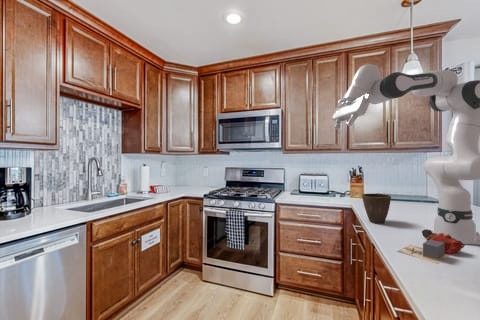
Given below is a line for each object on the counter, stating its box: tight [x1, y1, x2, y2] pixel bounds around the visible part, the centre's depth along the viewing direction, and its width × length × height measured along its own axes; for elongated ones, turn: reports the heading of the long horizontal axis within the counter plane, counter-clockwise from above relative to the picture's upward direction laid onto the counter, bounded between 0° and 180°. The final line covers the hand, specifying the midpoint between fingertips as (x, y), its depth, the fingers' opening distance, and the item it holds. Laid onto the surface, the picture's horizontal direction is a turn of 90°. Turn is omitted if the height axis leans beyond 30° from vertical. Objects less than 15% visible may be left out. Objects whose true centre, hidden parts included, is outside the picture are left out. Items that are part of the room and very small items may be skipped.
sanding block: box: [422, 240, 446, 261], centre depth 88 cm, size 7×4×5 cm, turn 124°
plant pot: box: [361, 193, 392, 225], centre depth 140 cm, size 15×15×16 cm
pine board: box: [396, 244, 450, 264], centre depth 91 cm, size 12×13×2 cm
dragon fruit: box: [426, 233, 466, 254], centre depth 93 cm, size 8×8×12 cm
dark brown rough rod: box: [421, 229, 434, 239], centre depth 104 cm, size 19×4×5 cm, turn 155°
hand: (342, 127), depth 102 cm, fingers open, 8 cm apart
